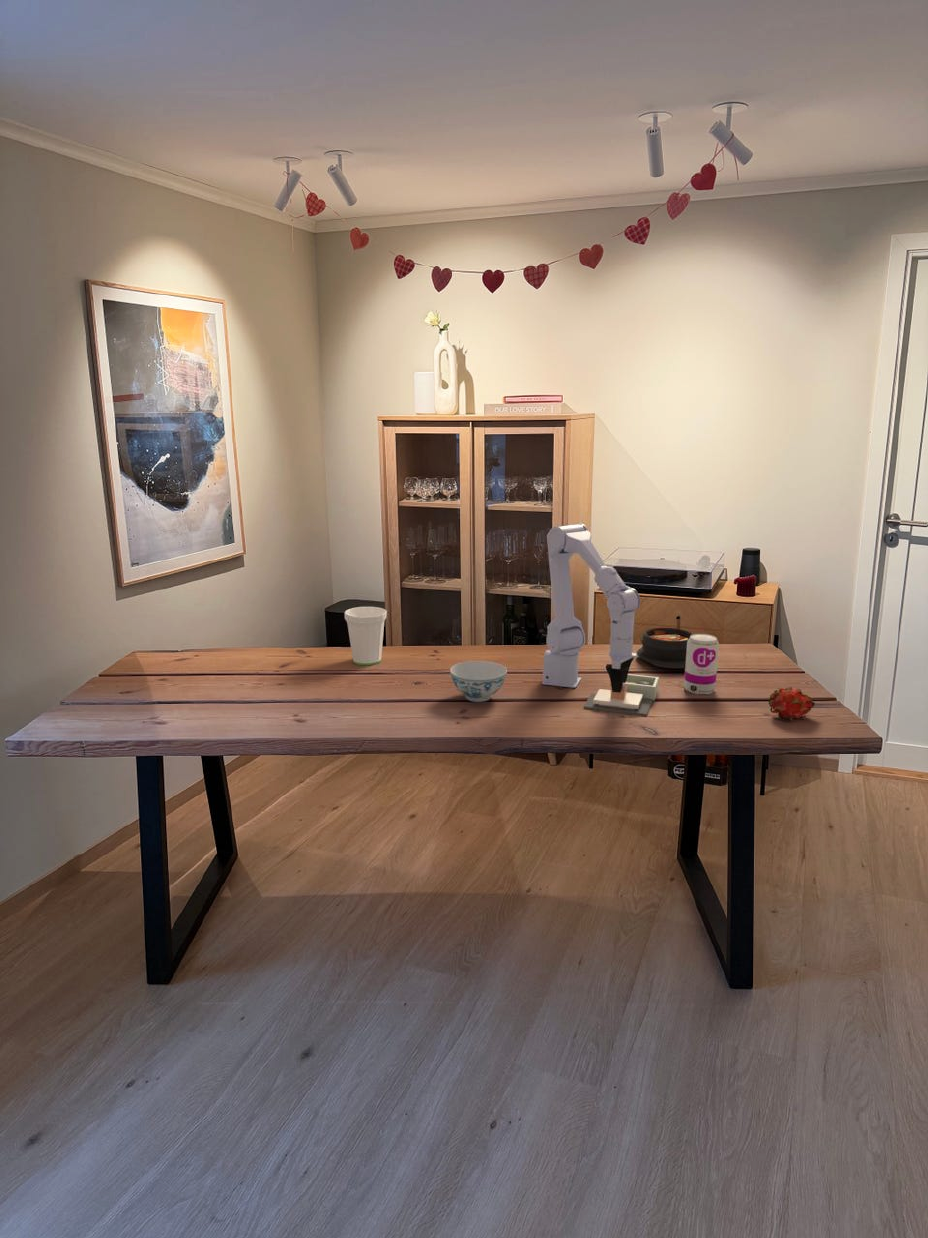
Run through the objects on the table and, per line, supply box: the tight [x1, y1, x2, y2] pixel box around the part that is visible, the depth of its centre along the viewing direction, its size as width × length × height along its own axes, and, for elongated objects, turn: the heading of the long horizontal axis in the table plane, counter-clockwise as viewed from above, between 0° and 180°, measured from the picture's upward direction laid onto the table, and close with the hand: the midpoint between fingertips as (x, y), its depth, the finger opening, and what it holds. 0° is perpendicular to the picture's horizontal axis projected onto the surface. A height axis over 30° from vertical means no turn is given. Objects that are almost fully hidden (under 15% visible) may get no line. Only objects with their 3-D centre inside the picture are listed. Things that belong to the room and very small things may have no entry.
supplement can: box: [683, 633, 720, 695], centre depth 232 cm, size 8×8×15 cm
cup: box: [344, 606, 387, 666], centre depth 256 cm, size 12×12×15 cm
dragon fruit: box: [768, 686, 816, 721], centre depth 215 cm, size 8×8×12 cm
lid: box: [593, 686, 643, 710], centre depth 222 cm, size 11×8×4 cm
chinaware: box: [449, 660, 508, 703], centre depth 227 cm, size 15×15×8 cm
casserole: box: [636, 627, 694, 670], centre depth 258 cm, size 25×19×8 cm
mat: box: [583, 693, 653, 717], centre depth 223 cm, size 16×10×1 cm, turn 71°
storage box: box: [623, 673, 660, 702], centre depth 231 cm, size 11×8×4 cm
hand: (619, 687), depth 222 cm, fingers open, 7 cm apart
